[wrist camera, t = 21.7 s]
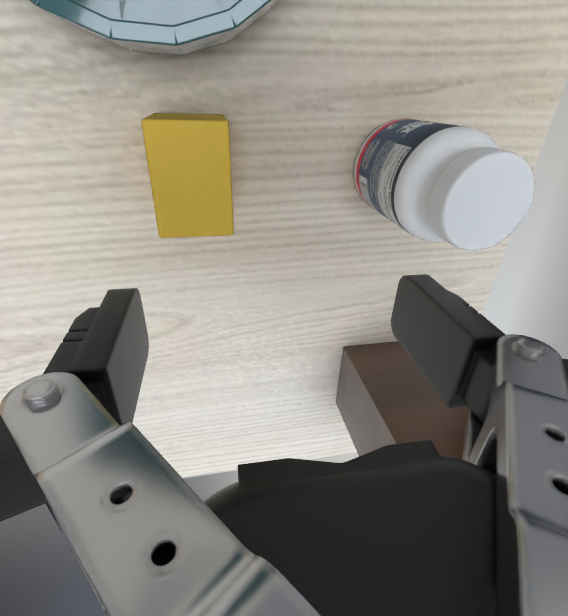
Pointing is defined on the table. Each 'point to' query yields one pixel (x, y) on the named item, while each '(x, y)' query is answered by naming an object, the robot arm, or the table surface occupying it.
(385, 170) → the pill bottle
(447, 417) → the stand
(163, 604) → the robot arm
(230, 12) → the bowl
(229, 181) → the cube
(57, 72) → the table surface
